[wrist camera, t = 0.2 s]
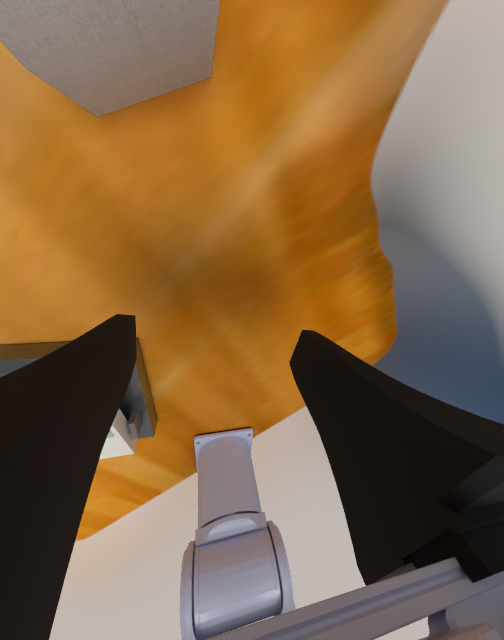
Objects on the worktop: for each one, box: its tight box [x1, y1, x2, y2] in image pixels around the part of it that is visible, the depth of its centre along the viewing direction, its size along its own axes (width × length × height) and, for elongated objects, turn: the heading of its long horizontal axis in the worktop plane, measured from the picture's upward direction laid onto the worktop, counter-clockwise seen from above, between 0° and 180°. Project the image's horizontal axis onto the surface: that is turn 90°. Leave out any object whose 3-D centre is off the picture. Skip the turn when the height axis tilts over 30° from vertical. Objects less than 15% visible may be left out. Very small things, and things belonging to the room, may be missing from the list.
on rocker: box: [99, 409, 137, 459], centre depth 20 cm, size 7×4×2 cm, turn 176°
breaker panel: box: [0, 338, 157, 439], centre depth 19 cm, size 12×16×4 cm
